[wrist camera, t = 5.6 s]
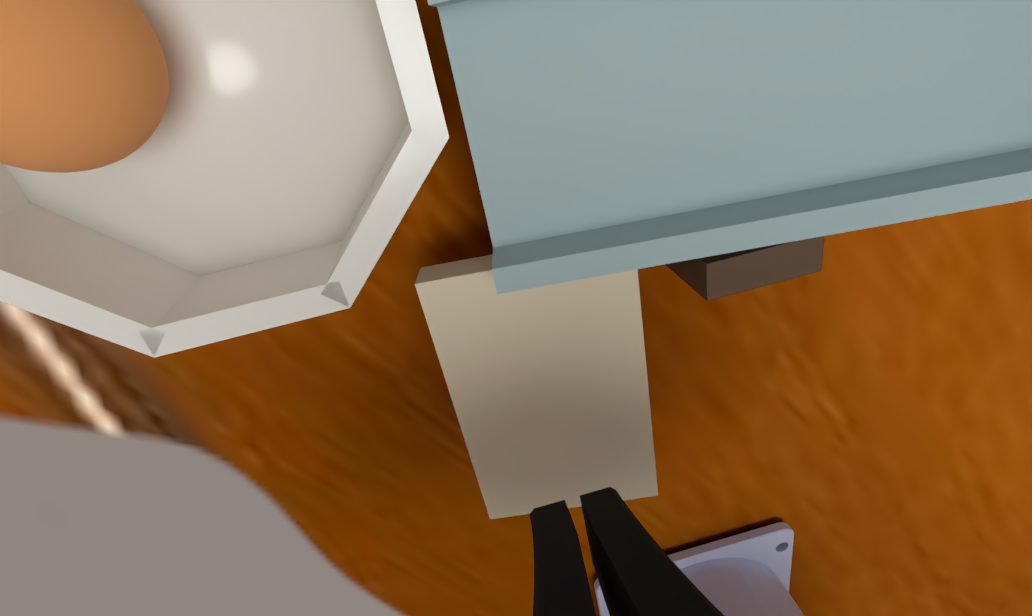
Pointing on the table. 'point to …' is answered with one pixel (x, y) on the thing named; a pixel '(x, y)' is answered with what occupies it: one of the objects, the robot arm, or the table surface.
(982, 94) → the lever
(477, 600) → the table surface
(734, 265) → the stand
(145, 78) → the ball
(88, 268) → the bowl
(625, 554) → the robot arm
